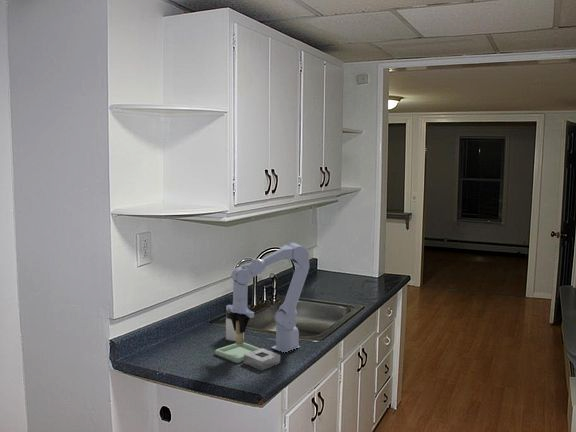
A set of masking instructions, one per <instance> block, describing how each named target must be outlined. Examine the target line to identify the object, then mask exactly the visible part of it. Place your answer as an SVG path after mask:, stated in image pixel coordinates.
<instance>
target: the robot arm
mask: <svg viewBox="0 0 576 432" xmlns="http://www.w3.org/2000/svg"><path fill="white" fill-rule="evenodd" d="M309 257H310V252H309V251H308V249H307V248H306V247H305V246H302V245H300V244H298V243H296V242H288V244H284V245H283V246H281V247H280V248H278V249H277V250H275V251H273V252H272V253H271V254H269V255H267V256H266V257H263V259H260V258H252V260H251V261H250V262H248V263H246V264H242V265H241V266H240V267H239V266H238V267H236V268H234V269H233V271H232V273H231V274H230V276H231V277H230V278H231V279H232V281H233V283H232V285H233V286H232V304H227V305H226V307H225V310H226V311H227V310H230V311H231V313H229V316H230V318H231V320H232V323H233V327H234V331H236V321H237V320H239V325H240V333H243V332H244V333H246V329H247V327H248V326H247V325H248V324H249V321H250V320H251V319H252V318H255V312H254V311H252V310H250V309H249V308H248V290H249V288H248V283H249V282H250V280H251V279H252V278H253V277H256V276H258V275H260V274H262V273H263V272H265V271H266V268H267V267H268V266H271V265H272V264H275V263H277V262H279V261H282V260H283V259H284V260H291V261H292V263H293V265H294V267H295V269H294V272H293V274H292V279H291V281H290V284H289V287H288V289H287V292H286V295H285V298H284V301H283V303H282V304H281V305H279V309H278V310H276V312H275V313H274V317H273V319H274V322H275V323H276V329H275V331H276V332H275V345H273V346H271V349H273V350H276V351H278V352H280V351H281V353H283V352H284V353H283V354H286V353H285V352H287V353H289V352H288V351H290V350H292V351H294V350H293V349H295V350H297V349H296V348H298V349H300V348H301V346H300V345H299V343H300V340H299V339H300V332H299V329H298V327H297V326H296V325H297V317H298V312H297V305H298V302H299V300H300V297H301V293H302V291H303V289H304V285H305V282H306V279H307V277H308V274H309V270H310V258H309ZM299 347H300V348H299ZM290 352H291V351H290Z"/></svg>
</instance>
